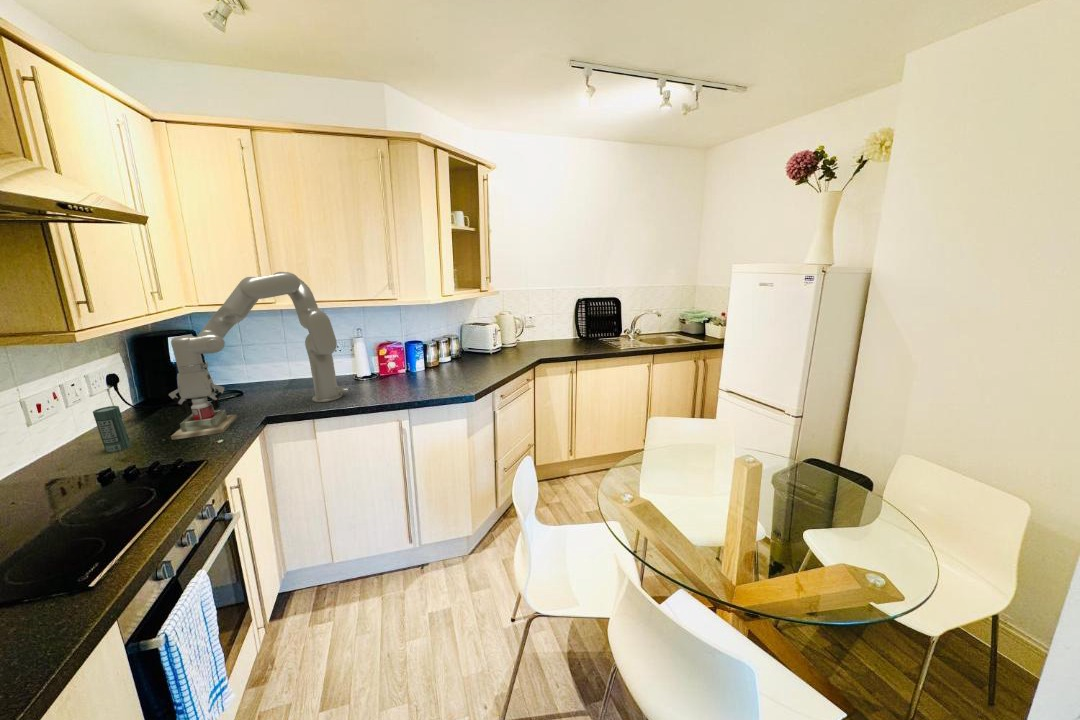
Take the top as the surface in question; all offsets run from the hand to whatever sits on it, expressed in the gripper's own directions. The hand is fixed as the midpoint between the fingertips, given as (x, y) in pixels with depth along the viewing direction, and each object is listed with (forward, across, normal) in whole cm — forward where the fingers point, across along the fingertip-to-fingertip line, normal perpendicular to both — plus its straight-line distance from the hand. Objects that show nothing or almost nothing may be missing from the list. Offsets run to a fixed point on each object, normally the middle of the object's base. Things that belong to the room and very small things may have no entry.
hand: (202, 410), depth 159 cm
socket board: (+7, 0, 0) cm, 7 cm away
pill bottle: (+6, 0, 0) cm, 6 cm away
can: (+7, +23, +9) cm, 26 cm away
